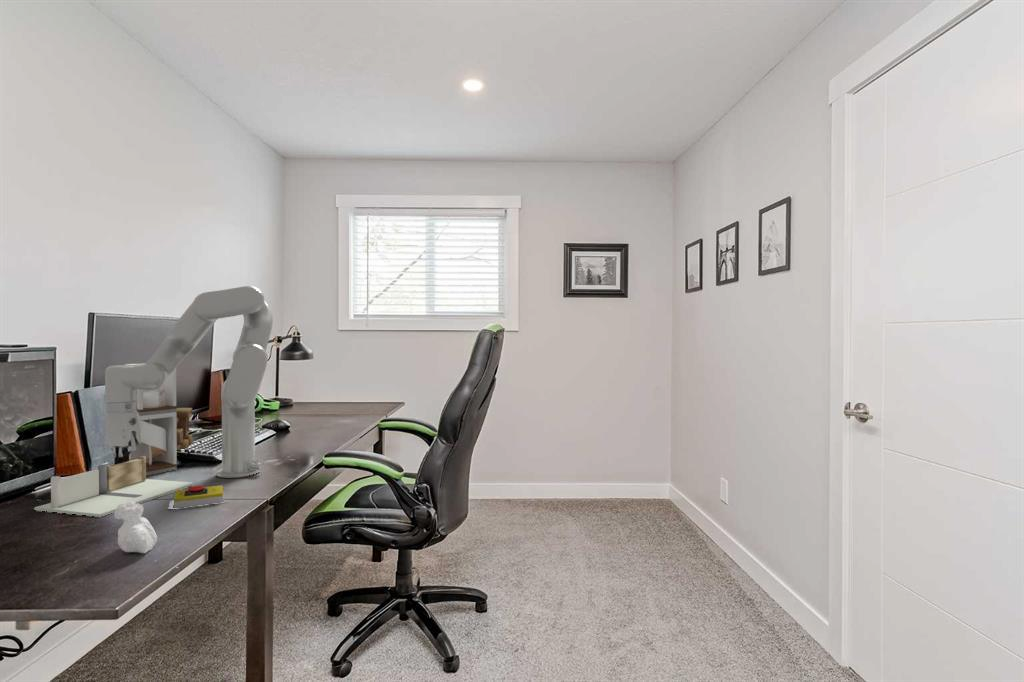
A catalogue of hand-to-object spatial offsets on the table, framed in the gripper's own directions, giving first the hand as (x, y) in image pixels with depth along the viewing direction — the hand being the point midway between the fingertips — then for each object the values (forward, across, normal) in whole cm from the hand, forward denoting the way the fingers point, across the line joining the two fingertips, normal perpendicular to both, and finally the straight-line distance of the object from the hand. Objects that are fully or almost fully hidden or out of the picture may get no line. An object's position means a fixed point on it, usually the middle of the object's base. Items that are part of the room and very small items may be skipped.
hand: (122, 469), depth 162 cm
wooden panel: (+4, -4, +1) cm, 5 cm away
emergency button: (+6, -34, +2) cm, 34 cm away
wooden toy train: (+5, +22, -33) cm, 40 cm away
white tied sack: (+5, -50, +30) cm, 59 cm away
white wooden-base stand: (+5, +10, -16) cm, 19 cm away
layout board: (+5, -10, +7) cm, 13 cm away
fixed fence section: (+4, -5, +15) cm, 16 cm away
